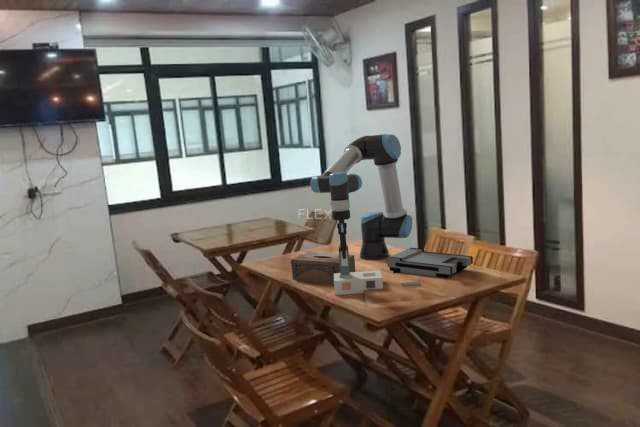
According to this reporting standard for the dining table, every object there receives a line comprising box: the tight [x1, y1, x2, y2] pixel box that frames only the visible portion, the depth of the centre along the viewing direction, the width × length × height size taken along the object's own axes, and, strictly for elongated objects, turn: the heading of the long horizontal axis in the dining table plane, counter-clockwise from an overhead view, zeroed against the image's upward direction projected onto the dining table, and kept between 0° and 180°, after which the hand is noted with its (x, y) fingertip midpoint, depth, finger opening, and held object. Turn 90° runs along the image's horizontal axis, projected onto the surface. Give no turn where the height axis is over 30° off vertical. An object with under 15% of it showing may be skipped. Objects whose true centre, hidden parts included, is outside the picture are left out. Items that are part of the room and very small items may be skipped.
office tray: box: [386, 247, 474, 279], centre depth 253 cm, size 21×32×8 cm, turn 48°
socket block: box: [333, 269, 384, 296], centre depth 236 cm, size 12×20×6 cm, turn 89°
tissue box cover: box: [290, 251, 356, 284], centre depth 259 cm, size 26×14×10 cm, turn 57°
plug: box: [337, 242, 350, 275], centre depth 234 cm, size 4×4×13 cm
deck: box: [400, 281, 423, 289], centre depth 231 cm, size 8×8×2 cm
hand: (344, 264), depth 235 cm, fingers closed on plug, 4 cm apart
